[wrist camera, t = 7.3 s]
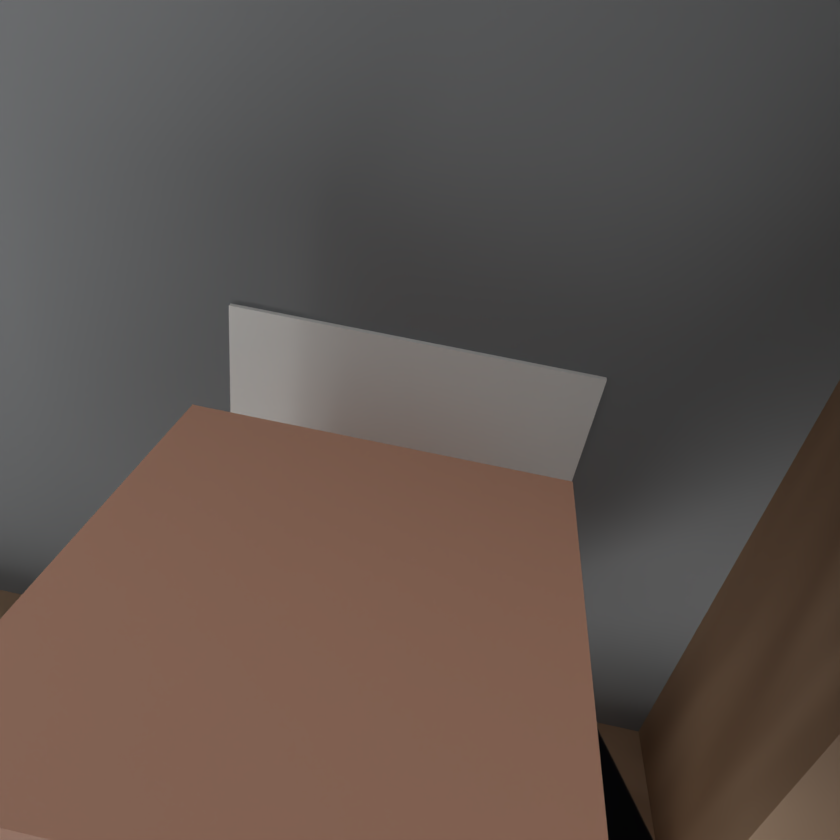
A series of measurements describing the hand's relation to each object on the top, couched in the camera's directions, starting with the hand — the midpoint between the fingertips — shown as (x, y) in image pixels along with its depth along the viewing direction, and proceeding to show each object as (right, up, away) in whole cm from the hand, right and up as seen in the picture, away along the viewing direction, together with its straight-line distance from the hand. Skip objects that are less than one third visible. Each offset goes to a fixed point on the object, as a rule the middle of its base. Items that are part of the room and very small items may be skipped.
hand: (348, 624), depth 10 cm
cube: (0, 0, +1) cm, 1 cm away
